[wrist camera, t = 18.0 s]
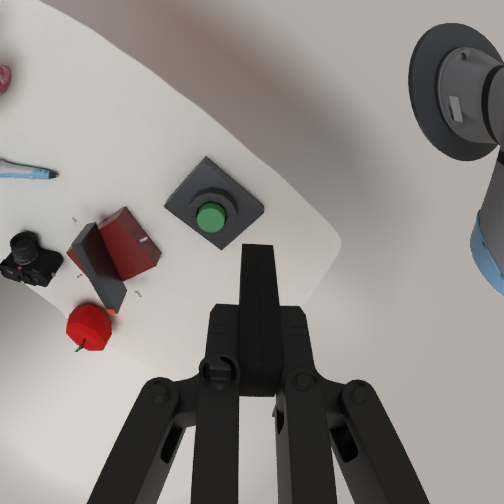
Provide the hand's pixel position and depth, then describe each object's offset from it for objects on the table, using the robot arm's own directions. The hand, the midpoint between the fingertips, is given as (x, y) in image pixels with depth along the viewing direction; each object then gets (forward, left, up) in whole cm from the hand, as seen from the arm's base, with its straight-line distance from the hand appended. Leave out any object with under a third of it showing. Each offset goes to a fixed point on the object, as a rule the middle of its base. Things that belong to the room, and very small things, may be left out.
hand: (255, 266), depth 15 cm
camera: (+41, +20, -26) cm, 53 cm away
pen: (+40, +3, -26) cm, 48 cm away
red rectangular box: (+22, +19, -26) cm, 39 cm away
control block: (+5, +10, -26) cm, 28 cm away
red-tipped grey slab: (+22, +19, -23) cm, 37 cm away
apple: (+32, +38, -26) cm, 56 cm away
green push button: (+5, +10, -23) cm, 25 cm away
